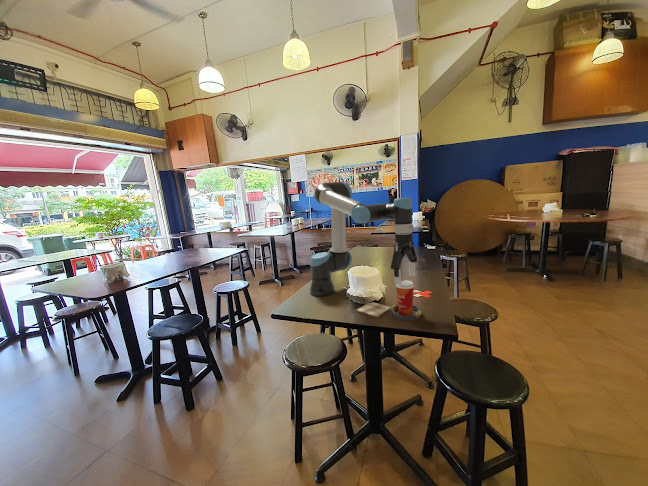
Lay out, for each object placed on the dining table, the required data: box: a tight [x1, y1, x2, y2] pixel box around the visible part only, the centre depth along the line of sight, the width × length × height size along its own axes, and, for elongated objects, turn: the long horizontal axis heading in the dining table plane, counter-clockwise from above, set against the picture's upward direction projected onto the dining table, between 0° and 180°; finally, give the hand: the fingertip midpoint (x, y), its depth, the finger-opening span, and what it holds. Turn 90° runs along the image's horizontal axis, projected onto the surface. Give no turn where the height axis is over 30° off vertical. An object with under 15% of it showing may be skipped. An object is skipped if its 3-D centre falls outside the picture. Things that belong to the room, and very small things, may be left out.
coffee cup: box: [394, 279, 415, 315], centre depth 115 cm, size 8×8×15 cm
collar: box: [389, 303, 422, 321], centre depth 117 cm, size 13×13×2 cm
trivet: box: [356, 301, 391, 318], centre depth 123 cm, size 12×12×1 cm
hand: (405, 279), depth 114 cm, fingers open, 13 cm apart
